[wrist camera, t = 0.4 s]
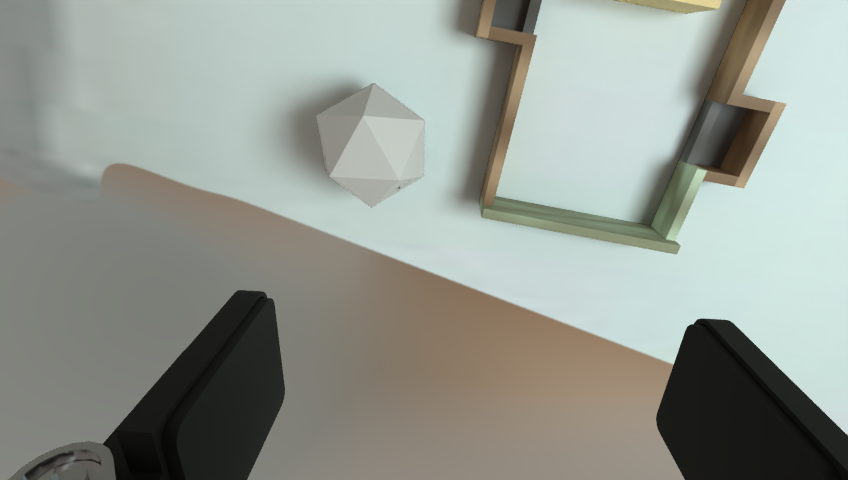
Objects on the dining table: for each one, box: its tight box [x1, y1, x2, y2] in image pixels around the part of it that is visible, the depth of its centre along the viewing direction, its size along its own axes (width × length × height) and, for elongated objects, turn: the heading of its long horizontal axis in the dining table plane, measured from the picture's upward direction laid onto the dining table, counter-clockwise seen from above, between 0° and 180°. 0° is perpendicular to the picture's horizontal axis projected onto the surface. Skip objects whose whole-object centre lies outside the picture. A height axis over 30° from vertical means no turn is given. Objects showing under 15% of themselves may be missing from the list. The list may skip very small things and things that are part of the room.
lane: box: [475, 0, 786, 254], centre depth 33 cm, size 26×23×4 cm
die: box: [316, 83, 425, 208], centre depth 34 cm, size 8×9×10 cm
